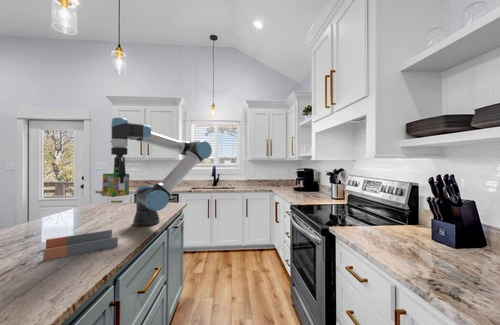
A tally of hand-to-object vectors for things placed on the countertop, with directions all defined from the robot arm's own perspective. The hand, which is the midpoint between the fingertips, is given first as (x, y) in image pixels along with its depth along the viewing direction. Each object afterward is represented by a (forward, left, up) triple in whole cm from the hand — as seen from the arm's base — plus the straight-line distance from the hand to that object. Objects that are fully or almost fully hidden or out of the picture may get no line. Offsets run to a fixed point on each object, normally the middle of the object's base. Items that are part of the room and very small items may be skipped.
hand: (119, 188), depth 125 cm
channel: (+17, +13, -24) cm, 32 cm away
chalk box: (+2, 0, -4) cm, 4 cm away
